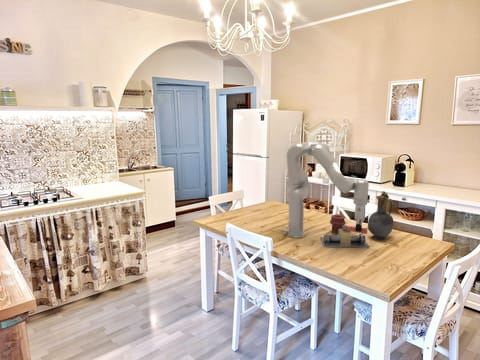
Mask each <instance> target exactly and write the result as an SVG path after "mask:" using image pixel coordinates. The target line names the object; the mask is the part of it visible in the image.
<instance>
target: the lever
mask: <svg viewBox="0 0 480 360" xmlns="http://www.w3.org/2000/svg"><path fill="white" fill-rule="evenodd" d="M355 229H356V226H351V225H346V224H345V225H343V226H342V230H343V231H350V232H351V233H359V234H363V235H367V233H368V227H367V228H366V227H362V230H361V232H356V231H355Z"/></svg>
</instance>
